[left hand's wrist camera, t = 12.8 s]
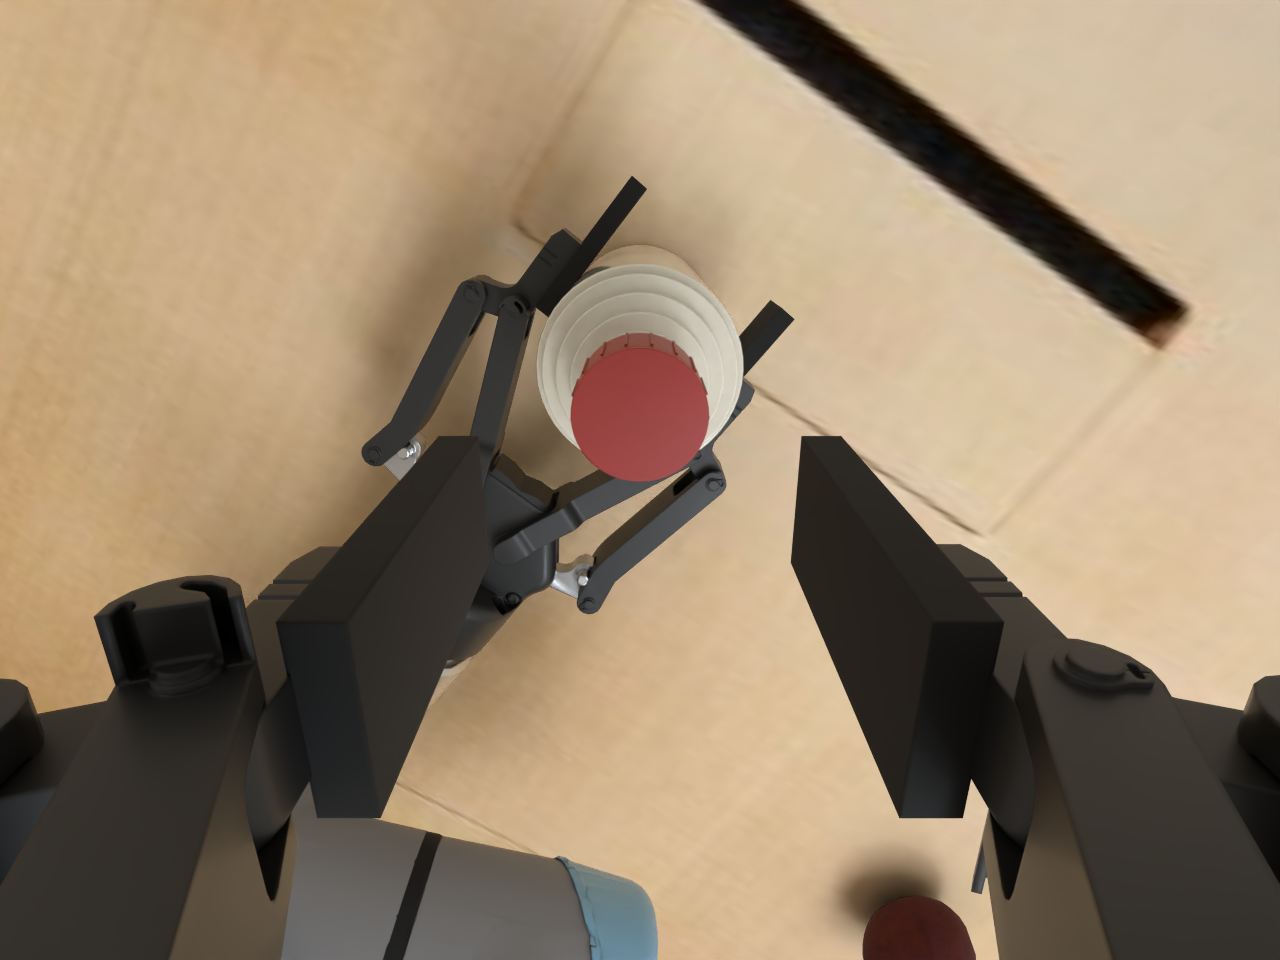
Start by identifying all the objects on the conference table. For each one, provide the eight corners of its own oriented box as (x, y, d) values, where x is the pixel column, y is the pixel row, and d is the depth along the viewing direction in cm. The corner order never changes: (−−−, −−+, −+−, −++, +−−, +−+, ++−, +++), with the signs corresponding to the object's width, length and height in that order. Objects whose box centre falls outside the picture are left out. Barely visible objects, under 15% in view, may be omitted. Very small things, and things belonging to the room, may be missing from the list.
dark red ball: (830, 919, 53) (857, 1020, 46) (901, 856, 51) (940, 953, 44) (903, 959, 54) (939, 1062, 48) (975, 899, 52) (1024, 999, 46)
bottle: (708, 385, 39) (763, 530, 21) (573, 387, 39) (519, 533, 21) (711, 243, 36) (777, 277, 19) (566, 245, 36) (498, 280, 19)
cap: (702, 454, 23) (709, 483, 20) (578, 456, 23) (572, 484, 20) (705, 330, 21) (713, 345, 19) (573, 332, 21) (564, 347, 19)
